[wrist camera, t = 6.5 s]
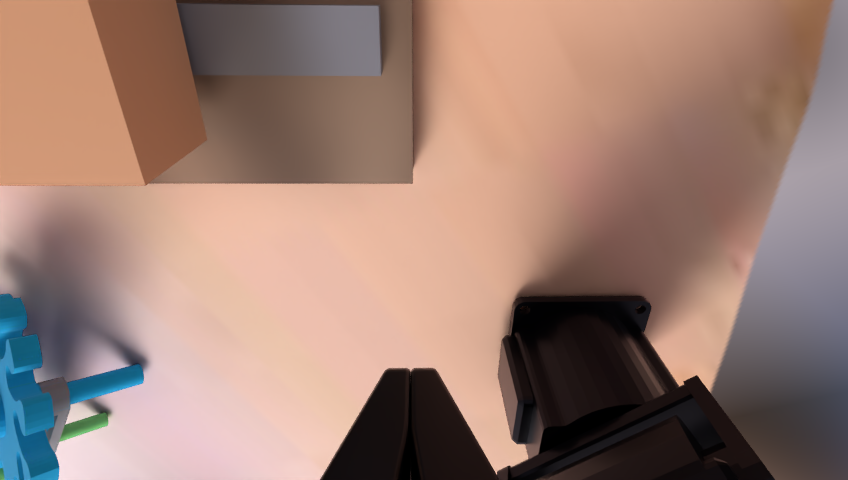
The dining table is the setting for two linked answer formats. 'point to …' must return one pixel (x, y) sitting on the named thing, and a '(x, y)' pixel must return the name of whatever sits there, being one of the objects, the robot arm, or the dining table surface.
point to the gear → (41, 401)
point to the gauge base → (300, 91)
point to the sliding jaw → (94, 92)
